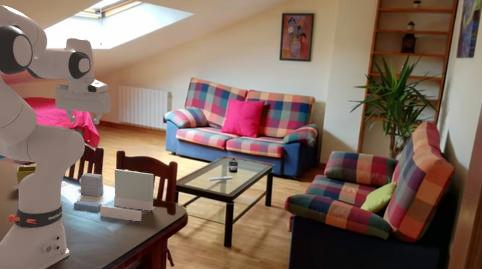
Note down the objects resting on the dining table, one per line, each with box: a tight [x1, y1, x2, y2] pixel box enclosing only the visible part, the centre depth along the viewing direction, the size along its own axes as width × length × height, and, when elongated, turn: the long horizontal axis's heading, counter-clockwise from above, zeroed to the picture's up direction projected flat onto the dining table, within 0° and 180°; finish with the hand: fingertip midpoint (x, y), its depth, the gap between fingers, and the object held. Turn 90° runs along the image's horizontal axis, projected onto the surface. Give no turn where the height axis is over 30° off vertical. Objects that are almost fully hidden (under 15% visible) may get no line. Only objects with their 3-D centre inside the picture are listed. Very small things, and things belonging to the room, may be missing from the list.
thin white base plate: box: [99, 195, 154, 222], centre depth 152 cm, size 12×16×4 cm
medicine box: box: [80, 172, 104, 197], centre depth 168 cm, size 8×4×9 cm, turn 84°
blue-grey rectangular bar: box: [73, 200, 103, 212], centre depth 153 cm, size 3×10×2 cm, turn 81°
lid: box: [114, 168, 155, 203], centre depth 156 cm, size 12×16×1 cm
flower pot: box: [16, 165, 36, 185], centre depth 168 cm, size 9×9×9 cm
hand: (84, 122), depth 142 cm, fingers open, 8 cm apart
